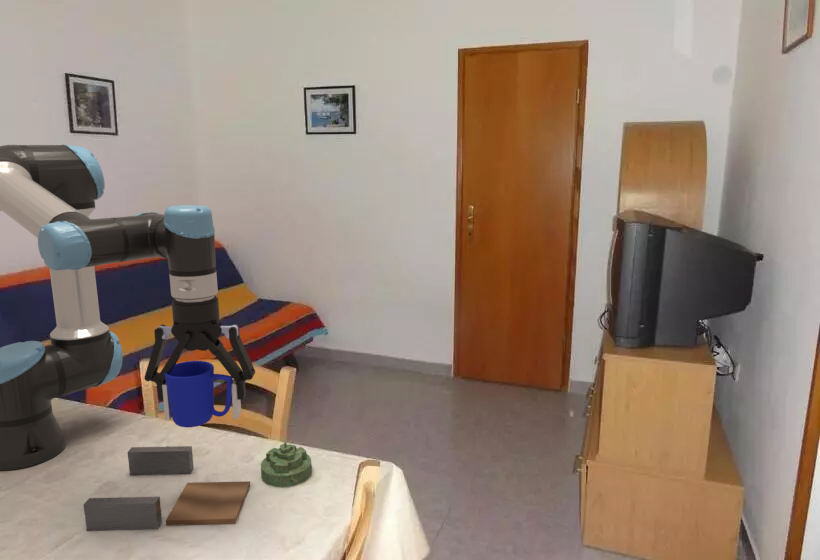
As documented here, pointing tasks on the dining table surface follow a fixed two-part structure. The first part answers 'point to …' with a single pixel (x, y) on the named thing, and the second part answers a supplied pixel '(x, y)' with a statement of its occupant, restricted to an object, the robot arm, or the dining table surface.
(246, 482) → the walnut board
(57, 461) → the dining table surface
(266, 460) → the decorative artifact
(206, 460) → the dining table surface
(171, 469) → the vise jaws
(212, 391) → the mug
